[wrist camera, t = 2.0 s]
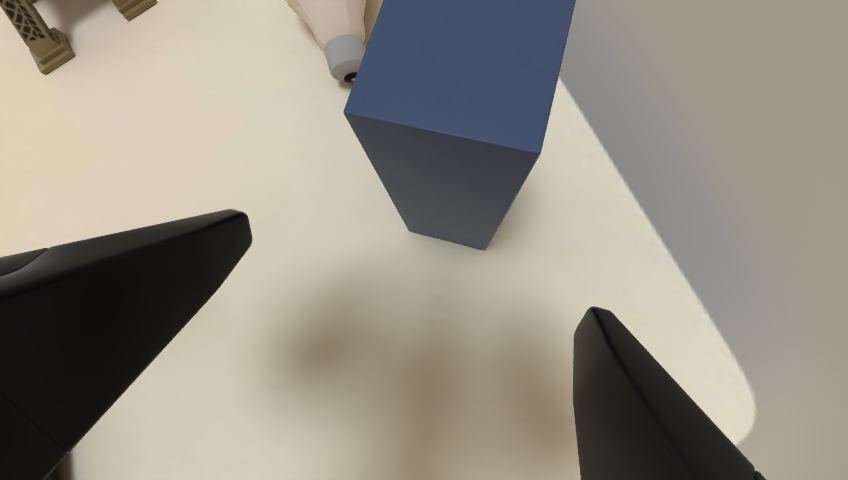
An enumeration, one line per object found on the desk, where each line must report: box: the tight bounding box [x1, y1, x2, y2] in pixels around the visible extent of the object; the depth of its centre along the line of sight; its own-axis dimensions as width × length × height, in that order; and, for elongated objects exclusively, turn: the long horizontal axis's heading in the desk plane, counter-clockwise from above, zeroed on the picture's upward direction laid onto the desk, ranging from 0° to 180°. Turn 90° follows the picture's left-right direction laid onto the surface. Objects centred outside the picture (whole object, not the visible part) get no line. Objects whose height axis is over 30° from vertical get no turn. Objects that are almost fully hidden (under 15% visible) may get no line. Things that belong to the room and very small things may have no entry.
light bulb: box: [286, 0, 366, 82], centre depth 22 cm, size 7×7×11 cm
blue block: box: [344, 0, 576, 250], centre depth 15 cm, size 5×5×13 cm
